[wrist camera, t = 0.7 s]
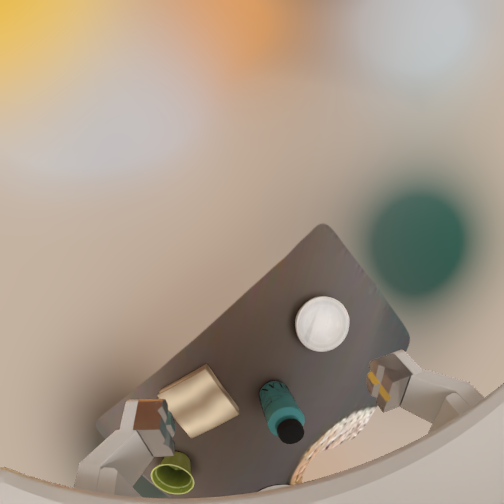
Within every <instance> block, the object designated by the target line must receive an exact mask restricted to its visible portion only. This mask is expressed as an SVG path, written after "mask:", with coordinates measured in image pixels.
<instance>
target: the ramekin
mask: <svg viewBox="0 0 504 504" xmlns="http://www.w3.org/2000/svg"><path fill="white" fill-rule="evenodd" d="M295 328H296V333H297V336H298V338H299V340H300V341H301V343H302V344H303V345H304V346H306V347H307V348H309V349H311V350H314V351H318V352H324V351H329V350H332V349H334V348H336V347H337V346H338V345H340V344H341V343H342V342H343V340H344V339H345V337H346V335H347V333H348V330H349V316H348V313H347V310H346V309H345V307H344V306H343V305H342V304H341V303H340V302H339V301H338V300H336V299H334V298H331V297H327V296H320V297H315V298H313V299H311V300H309V301H307V302H306V303H305V304H304V305H303V306H302V307H301V308H300V310H299V311H298V313H297V316H296V319H295Z"/></svg>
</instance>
